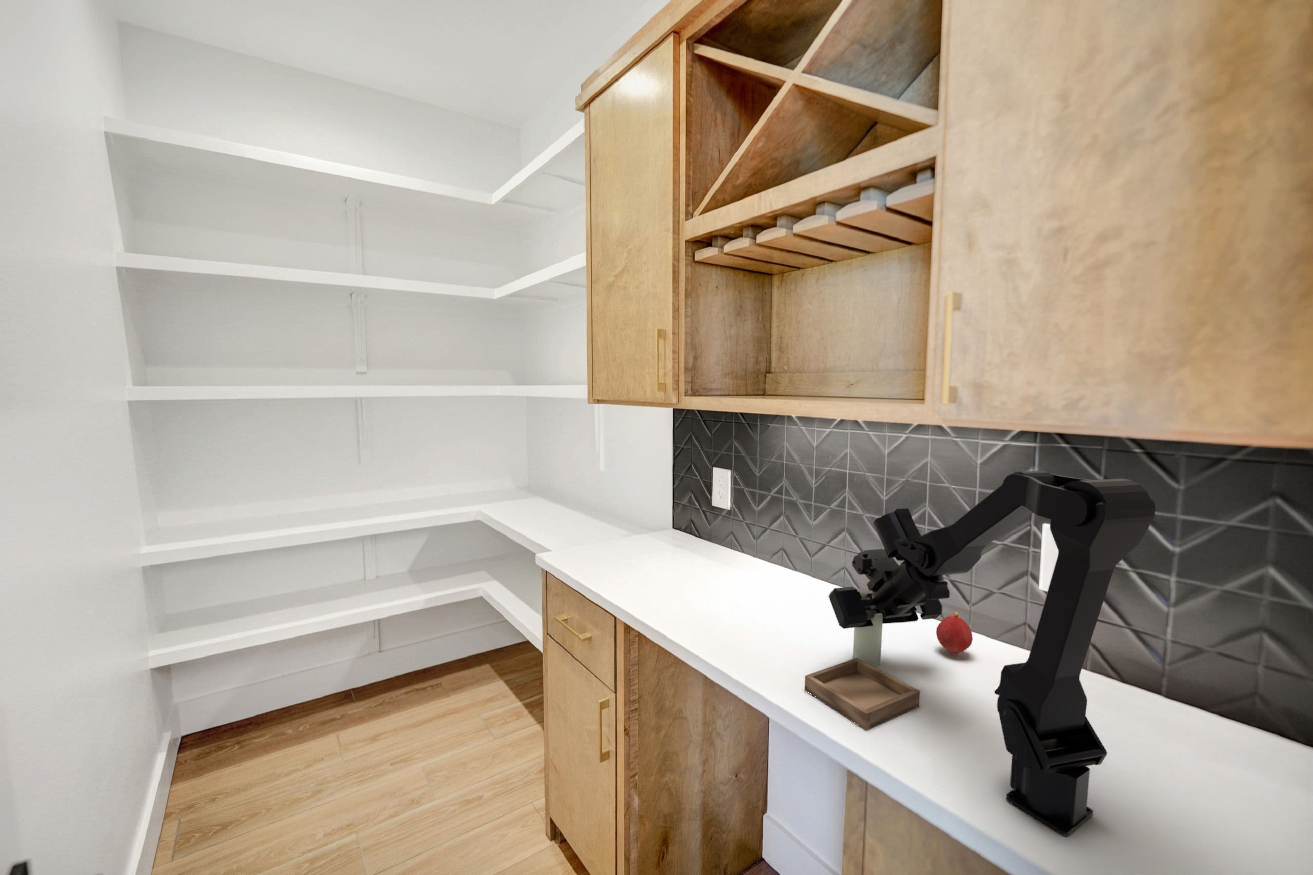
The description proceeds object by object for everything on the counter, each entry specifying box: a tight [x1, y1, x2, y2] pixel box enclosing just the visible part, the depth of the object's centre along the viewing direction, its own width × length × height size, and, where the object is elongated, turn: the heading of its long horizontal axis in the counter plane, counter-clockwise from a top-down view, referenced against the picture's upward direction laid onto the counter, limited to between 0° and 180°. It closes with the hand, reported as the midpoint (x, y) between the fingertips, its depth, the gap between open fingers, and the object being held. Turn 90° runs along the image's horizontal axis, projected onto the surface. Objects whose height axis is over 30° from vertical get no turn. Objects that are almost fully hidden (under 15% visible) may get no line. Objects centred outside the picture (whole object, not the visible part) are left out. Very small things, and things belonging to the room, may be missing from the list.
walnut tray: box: [804, 658, 921, 731], centre depth 88 cm, size 12×12×2 cm
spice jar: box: [852, 587, 884, 668], centre depth 99 cm, size 5×5×12 cm
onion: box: [935, 612, 974, 656], centre depth 102 cm, size 6×6×8 cm
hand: (863, 622), depth 101 cm, fingers closed on spice jar, 5 cm apart
